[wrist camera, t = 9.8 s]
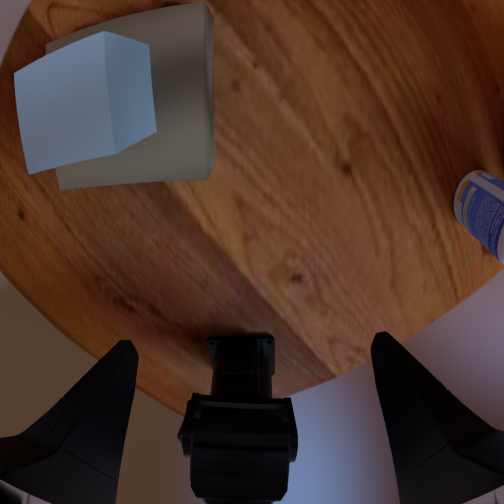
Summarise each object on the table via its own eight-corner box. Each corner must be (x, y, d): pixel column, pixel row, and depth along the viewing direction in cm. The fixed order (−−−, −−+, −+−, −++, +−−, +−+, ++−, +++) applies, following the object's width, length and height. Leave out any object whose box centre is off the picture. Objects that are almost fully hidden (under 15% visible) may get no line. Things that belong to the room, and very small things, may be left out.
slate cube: (156, 132, 14) (116, 154, 9) (81, 147, 14) (29, 174, 9) (149, 44, 11) (104, 30, 7) (71, 69, 11) (13, 73, 7)
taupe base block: (216, 161, 18) (207, 179, 15) (88, 171, 18) (60, 190, 15) (214, 19, 13) (204, 2, 10) (78, 46, 13) (45, 44, 10)
